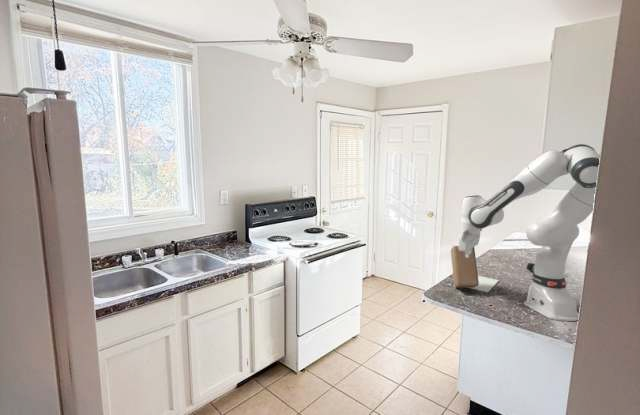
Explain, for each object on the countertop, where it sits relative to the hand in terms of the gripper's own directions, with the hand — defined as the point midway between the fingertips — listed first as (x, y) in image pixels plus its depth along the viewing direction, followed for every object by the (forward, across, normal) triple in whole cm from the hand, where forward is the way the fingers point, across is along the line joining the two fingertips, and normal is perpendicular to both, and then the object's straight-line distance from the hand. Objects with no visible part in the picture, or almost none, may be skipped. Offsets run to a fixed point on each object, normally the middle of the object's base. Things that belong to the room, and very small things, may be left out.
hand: (468, 256), depth 163 cm
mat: (+18, +18, 0) cm, 26 cm away
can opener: (+18, +60, -25) cm, 68 cm away
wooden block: (+16, +2, 0) cm, 16 cm away
